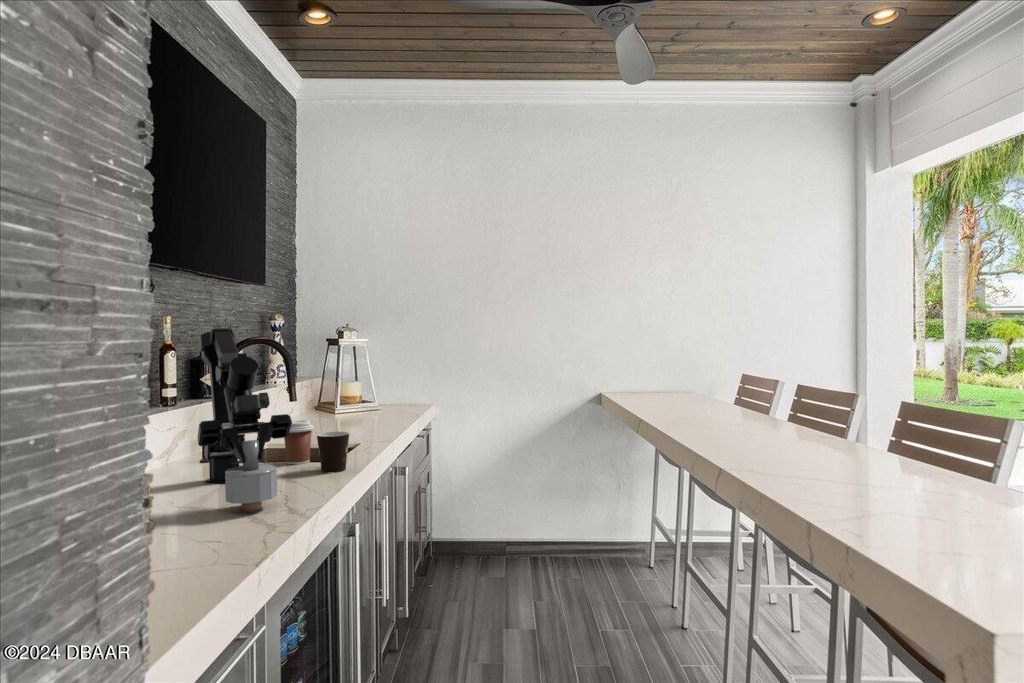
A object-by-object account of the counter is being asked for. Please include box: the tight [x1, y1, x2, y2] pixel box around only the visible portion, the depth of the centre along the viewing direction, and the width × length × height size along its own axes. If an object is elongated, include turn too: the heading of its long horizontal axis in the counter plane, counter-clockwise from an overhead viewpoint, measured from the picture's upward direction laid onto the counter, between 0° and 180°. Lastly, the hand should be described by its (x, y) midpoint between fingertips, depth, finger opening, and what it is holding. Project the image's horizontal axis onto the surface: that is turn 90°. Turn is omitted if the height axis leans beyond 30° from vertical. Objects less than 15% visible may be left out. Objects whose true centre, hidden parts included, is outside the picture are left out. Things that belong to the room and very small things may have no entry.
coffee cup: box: [283, 419, 315, 465], centre depth 183 cm, size 9×9×12 cm
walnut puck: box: [241, 501, 263, 513], centre depth 134 cm, size 4×4×3 cm
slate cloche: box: [224, 439, 278, 504], centre depth 134 cm, size 10×10×12 cm
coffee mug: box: [316, 431, 350, 473], centre depth 173 cm, size 12×9×10 cm
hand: (252, 460), depth 133 cm, fingers closed on slate cloche, 3 cm apart
